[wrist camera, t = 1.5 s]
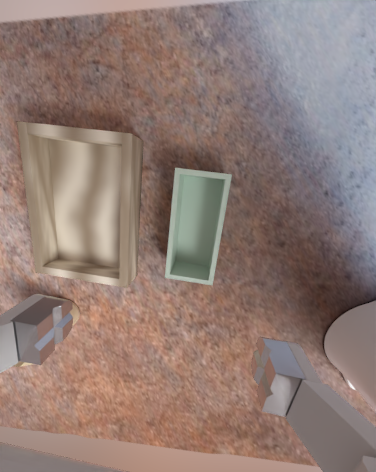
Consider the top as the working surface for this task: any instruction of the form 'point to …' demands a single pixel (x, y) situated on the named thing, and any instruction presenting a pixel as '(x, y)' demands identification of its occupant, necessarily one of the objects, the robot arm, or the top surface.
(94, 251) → the box
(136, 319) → the top surface
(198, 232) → the green crate
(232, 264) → the top surface
